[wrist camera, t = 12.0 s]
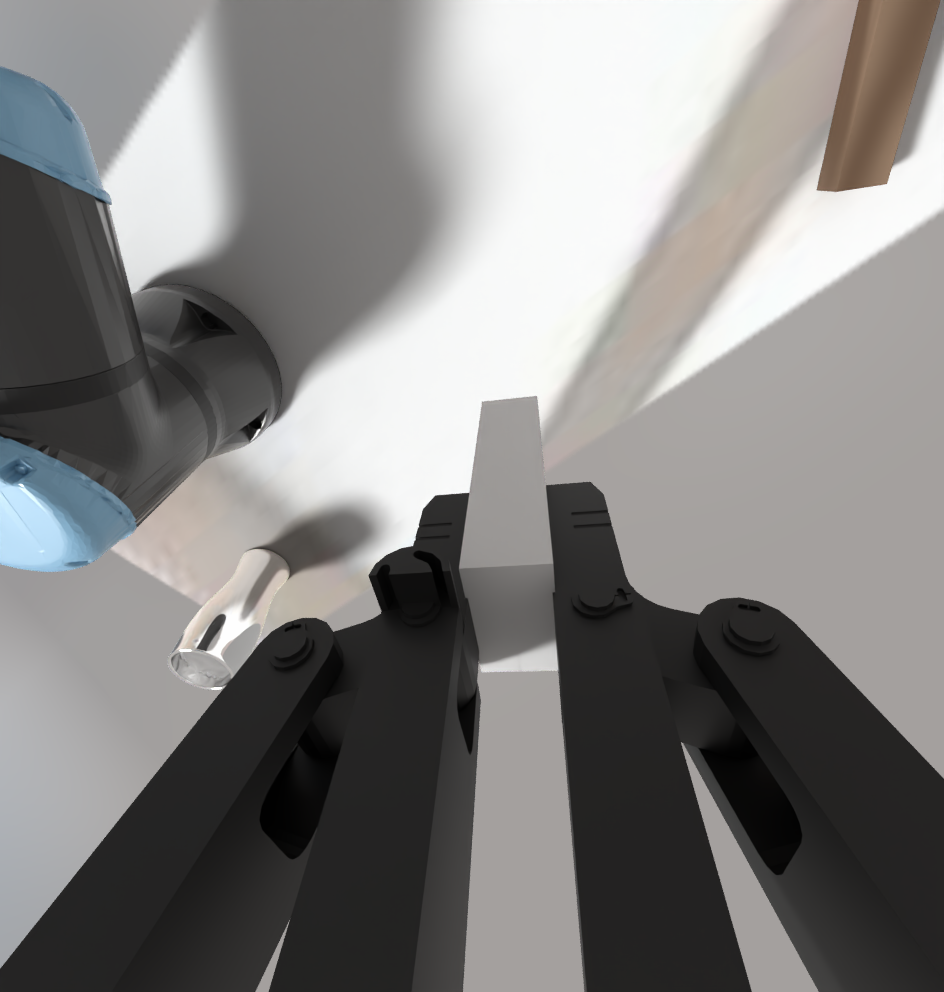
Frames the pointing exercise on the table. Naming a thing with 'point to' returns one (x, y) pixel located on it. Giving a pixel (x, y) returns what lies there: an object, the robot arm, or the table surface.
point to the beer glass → (229, 622)
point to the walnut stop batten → (875, 91)
